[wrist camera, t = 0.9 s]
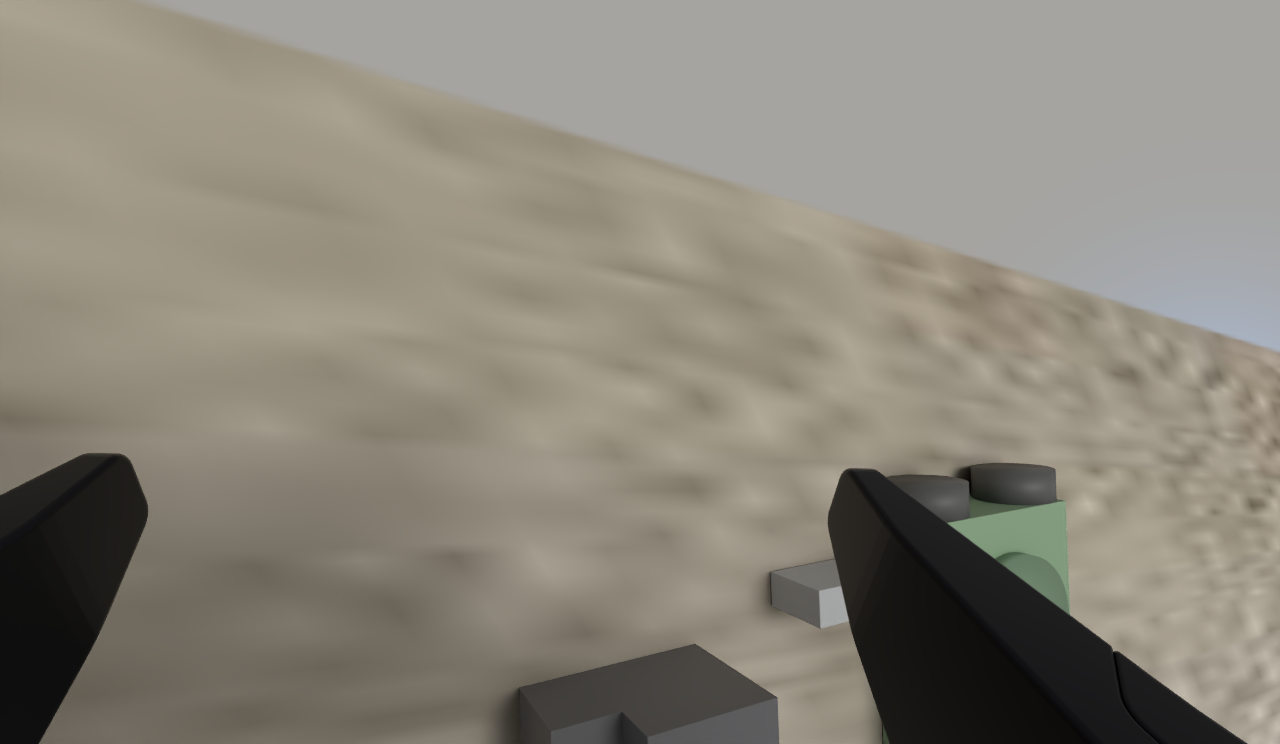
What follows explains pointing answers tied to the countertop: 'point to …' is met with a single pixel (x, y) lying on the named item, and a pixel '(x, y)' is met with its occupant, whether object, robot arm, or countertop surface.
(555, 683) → the stepped grey block
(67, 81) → the countertop surface
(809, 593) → the green toy cart
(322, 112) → the countertop surface
